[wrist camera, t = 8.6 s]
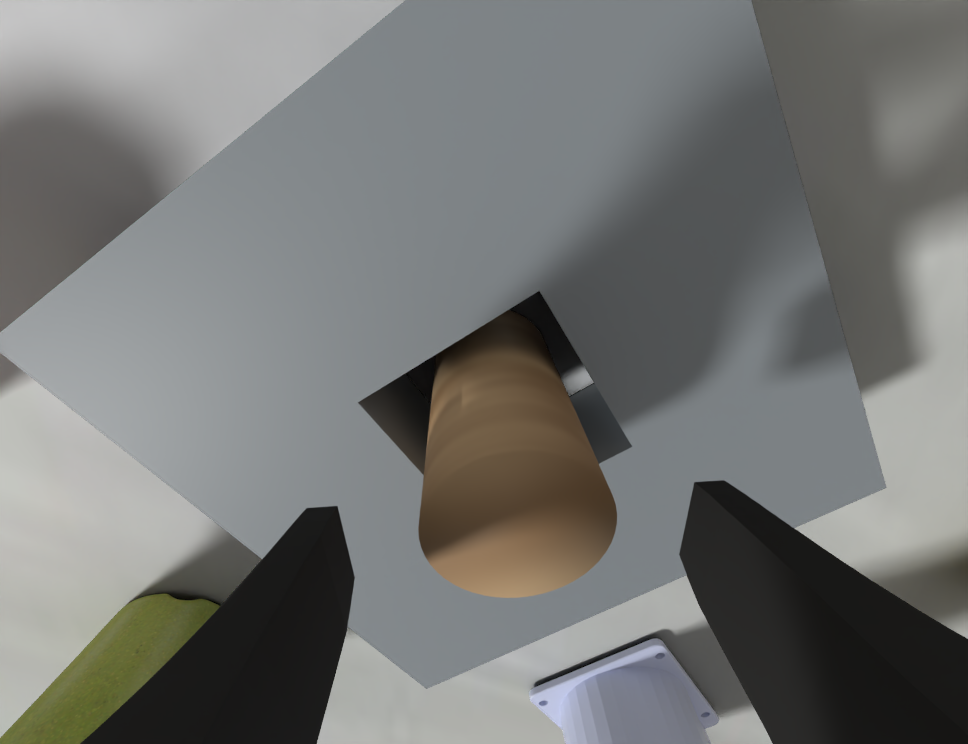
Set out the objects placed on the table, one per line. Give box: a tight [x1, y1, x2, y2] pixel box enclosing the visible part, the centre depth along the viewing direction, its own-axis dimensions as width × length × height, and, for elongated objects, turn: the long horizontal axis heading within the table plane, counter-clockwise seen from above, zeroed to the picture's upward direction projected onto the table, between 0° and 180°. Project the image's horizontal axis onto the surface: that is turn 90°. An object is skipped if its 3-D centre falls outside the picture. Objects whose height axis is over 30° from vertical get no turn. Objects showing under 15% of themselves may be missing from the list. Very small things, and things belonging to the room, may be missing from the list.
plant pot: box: [0, 594, 220, 744], centre depth 18 cm, size 9×9×9 cm
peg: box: [418, 310, 617, 598], centre depth 13 cm, size 4×4×8 cm
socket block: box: [0, 0, 886, 689], centre depth 15 cm, size 18×18×4 cm
